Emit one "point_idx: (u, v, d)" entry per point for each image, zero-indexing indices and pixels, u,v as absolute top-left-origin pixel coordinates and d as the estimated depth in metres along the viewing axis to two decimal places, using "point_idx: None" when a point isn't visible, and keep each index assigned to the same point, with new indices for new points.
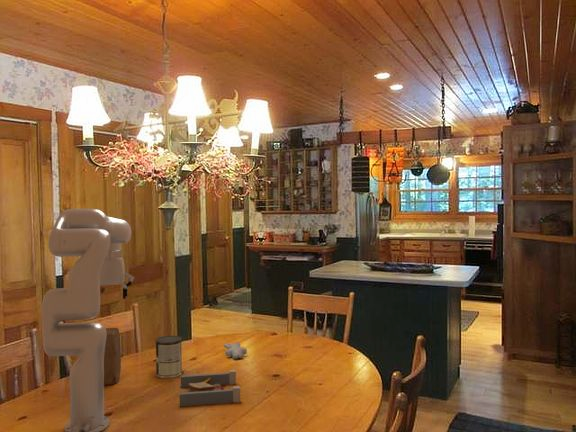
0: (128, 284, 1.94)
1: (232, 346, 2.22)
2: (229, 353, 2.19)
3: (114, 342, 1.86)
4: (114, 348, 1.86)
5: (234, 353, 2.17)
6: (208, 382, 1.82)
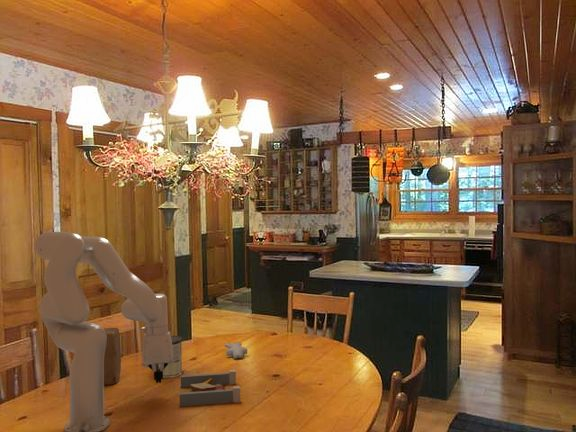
0: (164, 366, 1.74)
1: (233, 345, 2.22)
2: (230, 353, 2.20)
3: (114, 342, 1.86)
4: (114, 348, 1.86)
5: (235, 353, 2.17)
6: (209, 382, 1.81)
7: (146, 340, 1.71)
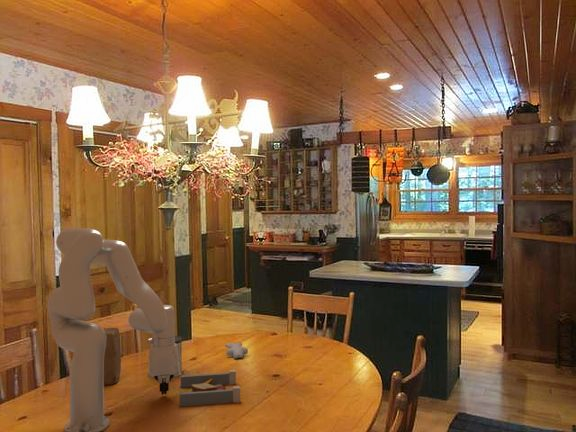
0: (170, 377, 1.74)
1: (233, 345, 2.23)
2: (230, 353, 2.20)
3: (114, 342, 1.86)
4: (114, 348, 1.86)
5: (235, 353, 2.18)
6: (210, 383, 1.81)
7: (153, 351, 1.71)
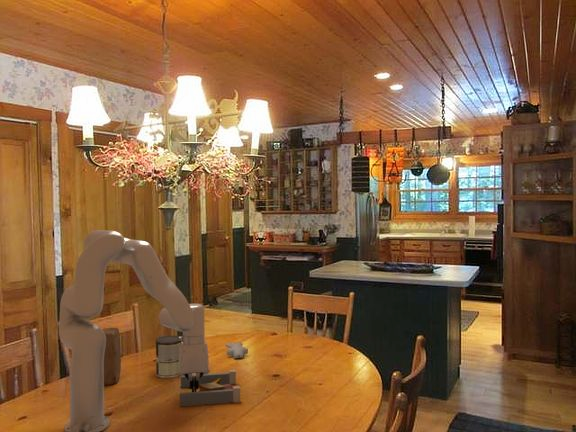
0: (200, 375, 1.76)
1: (233, 345, 2.23)
2: (230, 352, 2.20)
3: (114, 342, 1.86)
4: (114, 348, 1.86)
5: (235, 353, 2.18)
6: (218, 382, 1.81)
7: (183, 349, 1.73)
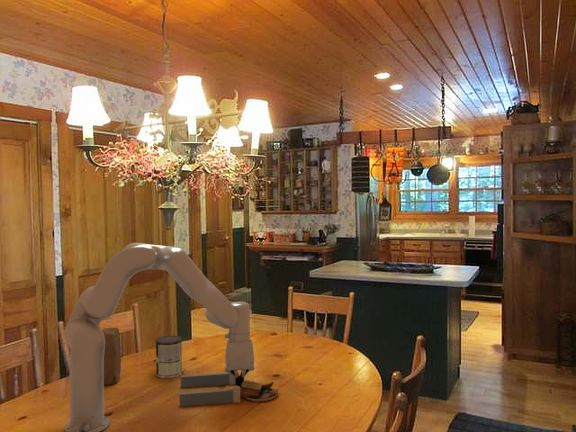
0: (245, 372, 1.79)
1: None
2: None
3: (114, 342, 1.86)
4: (114, 348, 1.86)
5: None
6: (269, 385, 1.78)
7: (230, 346, 1.76)
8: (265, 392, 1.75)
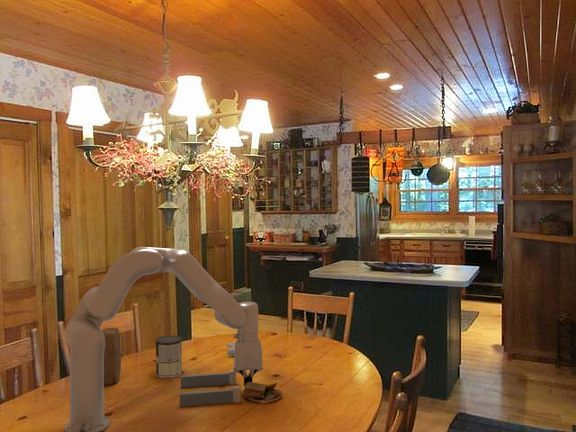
0: (254, 372, 1.79)
1: (234, 345, 2.23)
2: (231, 352, 2.21)
3: (114, 342, 1.86)
4: (114, 348, 1.86)
5: None
6: (272, 386, 1.77)
7: (239, 346, 1.76)
8: (269, 393, 1.74)
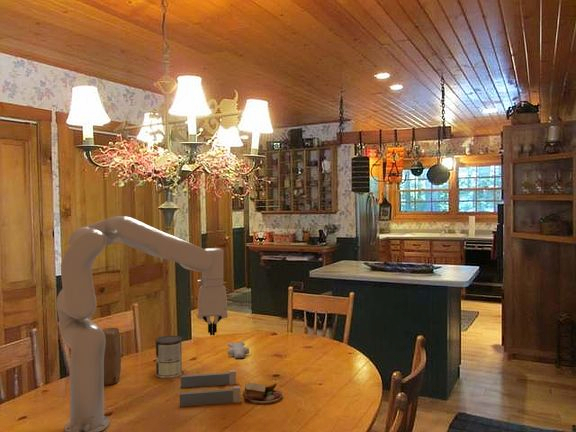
0: (218, 319, 1.76)
1: (235, 345, 2.23)
2: (231, 352, 2.21)
3: (114, 342, 1.86)
4: (114, 348, 1.86)
5: (236, 352, 2.18)
6: (272, 387, 1.76)
7: (202, 292, 1.73)
8: (269, 394, 1.73)
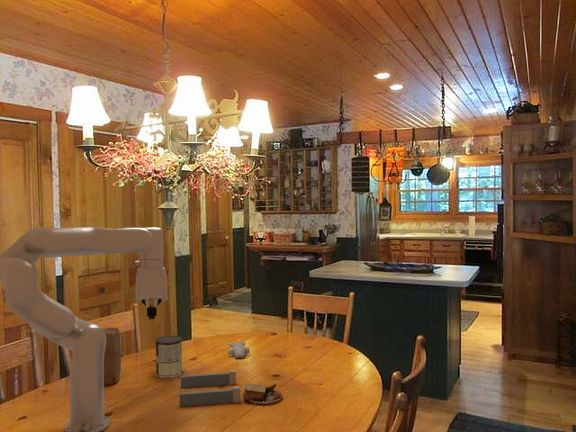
0: (158, 302, 1.67)
1: (235, 345, 2.23)
2: (232, 352, 2.21)
3: (114, 342, 1.86)
4: (114, 348, 1.86)
5: (236, 352, 2.18)
6: (272, 387, 1.76)
7: (140, 273, 1.64)
8: (269, 394, 1.72)
